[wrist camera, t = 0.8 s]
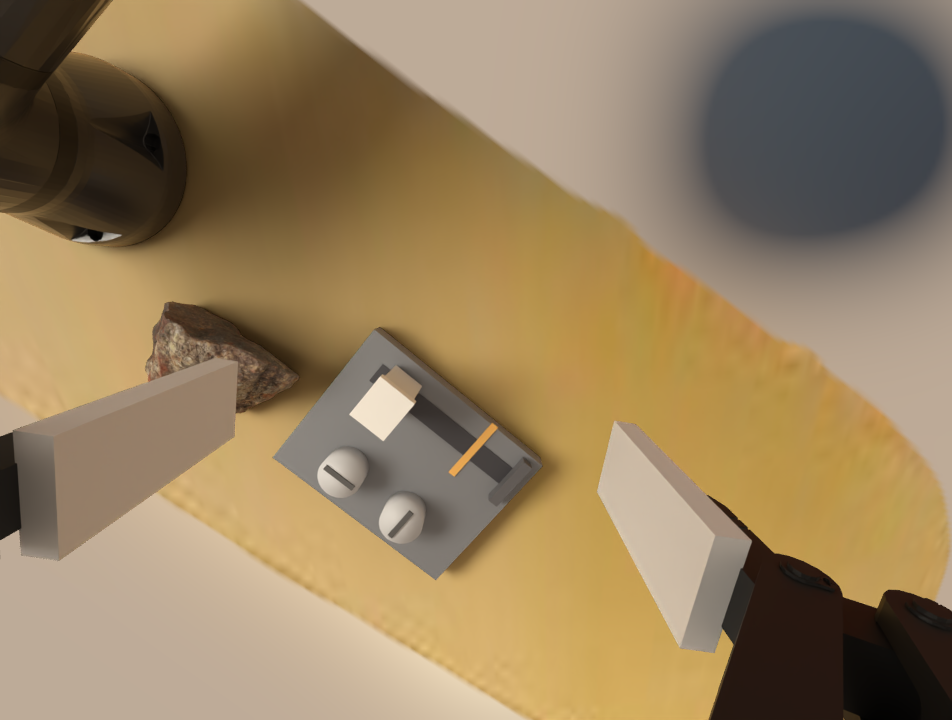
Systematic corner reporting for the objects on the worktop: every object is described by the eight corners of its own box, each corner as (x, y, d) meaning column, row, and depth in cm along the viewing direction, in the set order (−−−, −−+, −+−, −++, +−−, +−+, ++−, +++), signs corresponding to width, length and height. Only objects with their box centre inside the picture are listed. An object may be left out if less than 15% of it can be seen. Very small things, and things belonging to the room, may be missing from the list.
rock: (195, 272, 42) (149, 357, 43) (113, 266, 33) (60, 371, 35) (320, 359, 42) (270, 441, 43) (270, 375, 33) (209, 475, 35)
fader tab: (368, 394, 40) (349, 414, 34) (395, 361, 39) (380, 376, 34) (398, 417, 40) (383, 441, 34) (425, 385, 40) (414, 403, 34)
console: (282, 449, 44) (259, 469, 39) (381, 325, 41) (367, 331, 36) (438, 567, 46) (432, 598, 41) (541, 455, 43) (547, 476, 38)
